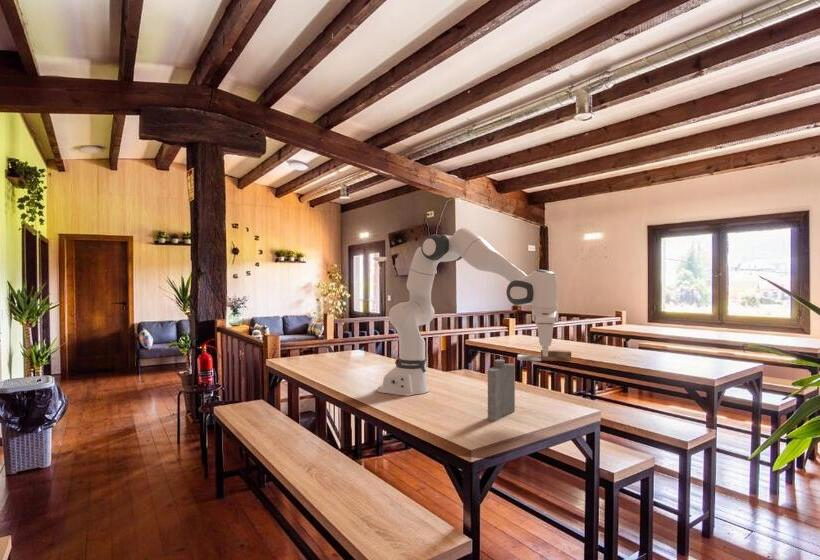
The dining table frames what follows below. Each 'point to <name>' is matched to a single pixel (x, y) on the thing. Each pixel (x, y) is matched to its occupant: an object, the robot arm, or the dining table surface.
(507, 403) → the hip flask
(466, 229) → the robot arm
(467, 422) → the dining table surface
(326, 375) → the dining table surface
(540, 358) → the spatula
